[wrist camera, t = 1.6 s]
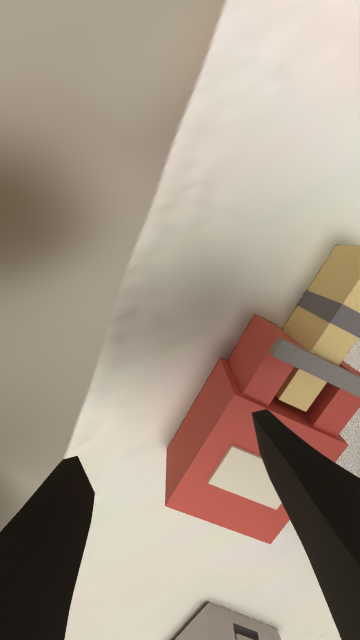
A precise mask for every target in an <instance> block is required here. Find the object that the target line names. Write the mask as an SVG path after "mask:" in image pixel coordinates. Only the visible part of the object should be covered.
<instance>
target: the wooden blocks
mask: <svg viewBox="0 0 360 640" xmlns="http://www.w3.org/2000/svg"><path fill="white" fill-rule="evenodd" d="M283 331H284V332H285V333H286V334H287V335H289V336H290V337H291V338H292V339H293V340H295V341H296V342H297V343H298V344H299V345H301V346H302V347H303V348H304V349H305V350H307V351H309V352H311V353H313V354H315V355H317V356H319V357H321V358H323V359H325V360H327V361H329V362H331V363H333V364H335V365H338V366H339V365H340V363H341V362H342V360H343V359H344V358H345V356H346V355H347V353H348V352H349V351H350V349H351V348H352V346H353V345H354V344H355V342H356V341H357V339H358V338H360V246H347V245H336V246H335V247H334V249H333V250H332V252H331V253H330V255H329V257H328V258H327V260H326V261H325V263H324V265H323V266H322V268H321V269H320V271H319V273H318V274H317V276H316V277H315V279H314V281H313V282H312V284H311V285H310V287H309V288H308V290H307V291H306V292H305V294H304V296H303V297H302V299H301V300H300V302H299V304H298V306H297V308H296V309H295V311H294V312H293V314H292V316H291V317H290V319H289V320H288V322H287V323H286V325H285V327H284V328H283ZM326 383H327V382H326V381H324V380H322V379H320V378H318V377H316V376H313V375H311V374H309V373H307V372H305V371H303V370H301V369H299V368H297V367H294V368H293V370H292V371H291V373H290V374H289V376H288V377H287V379H286V380H285V382H284V383H283V385H282V386H281V388H280V389H279V391H278V392H277V394H276V396H277V398H278V399H279V400H281V401H283V402H285V403H287V404H290V405H292V406H294V407H296V408H299V409H301V410H303V411H305V412H306V411H307V410H308V408H309V407H310V405H311V404H312V403H313V401H314V400H315V398H316V397H317V396H318V394H319V393H320V391H321V390H322V389H323V387H324V386H325V384H326Z"/></svg>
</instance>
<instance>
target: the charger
mask: <svg viewBox="0 0 360 640" xmlns="http://www.w3.org/2000/svg"><path fill="white" fill-rule="evenodd" d="M175 640H281V638H280V635H279V633H278V632H277V630H276V629H275V628H274V627H272V626H269V625H267V624H264V623H262V622H259V621H257V620H254V619H252V618H249V617H246V616H244V615H241V614H239V613H236V612H234V611H231V610H229V609H226V608H224V607H221V606H218V605H216V604H213V603H211V602H210V603H208V604H207V605H206V606H205V607H204V608H203V609H202V610H201V611H200V612H199V613H198V615H197V616H196V617H195V618H194V619H193V620H192V621H191V622H190V623H189V624H188V625H187V627H186V628H185V629H184V630H183V631H182V632H181V633H180V634H179V635H178V636H177V637H176V639H175Z"/></svg>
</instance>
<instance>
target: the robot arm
mask: <svg viewBox="0 0 360 640" xmlns="http://www.w3.org/2000/svg"><path fill="white" fill-rule="evenodd" d="M252 418H253V422H254V427H255V432H256V437H257V442H258V447H259V452H260V455H261V458H262V460H263V463H264V466H265V468H266V471H267V473H268V476H269V478H270V480H271V482H272V485H273V487H274V489H275V491H276V493H277V495H278V497H279V499H280V501H281V502H282V504H283V506H284V508H285V510H286V512H287V514H288V516H289V518H290V520H291V522H292V524H293V526H294V528H295V530H296V532H297V534H298V536H299V538H300V540H301V542H302V545H303V547H304V549H305V551H306V553H307V555H308V558H309V560H310V563H311V565H312V568H313V570H314V572H315V575H316V577H317V580H318V582H319V585H320V587H321V589H322V592H323V594H324V597H325V599H326V602H327V604H328V607H329V609H330V612H331V614H332V617H333V619H334V622H335V624H336V627H337V629H338V632H339V634H340V637H341V639H342V640H360V478H359V477H357V476H355V475H354V474H352V473H350V472H349V471H347V470H345V469H344V468H342V467H341V466H339V465H338V464H336V463H335V462H333V461H332V460H330V459H329V458H327V457H326V456H324V455H323V454H322V453H320V452H319V451H317V450H316V449H315V448H313V447H312V446H311V445H309V444H308V443H307V442H305V441H304V440H303V439H302V438H300V437H299V436H298V435H296V434H295V433H294V432H293V431H292V430H290V429H289V428H288V427H287V426H286V425H285V424H283V423H282V422H281V421H280V420H279V419H278V418H277V417H276V416H275V415H274V414H272V413H271V412H270V411H269V410H268V409H264V410H260V411H256V412H252ZM94 496H95V492H94V490H93V488H92V486H91V484H90V482H89V480H88V477H87V475H86V473H85V471H84V469H83V467H82V464H81V462H80V460H79V458H78V456H75V457H71V458H67V459H63V460H62V461H61V462H60V463H59V464H58V466H57V467H56V468H55V469H54V470H53V471H52V473H51V474H50V475H49V476H48V477H47V479H46V480H45V481H44V482H43V483H42V485H41V486H40V487H39V488H38V489H37V491H36V492H35V493H34V494H33V495H32V496H31V498H30V499H29V500H28V501H27V502H26V504H25V505H24V506H23V507H22V508H21V509H20V511H19V512H18V513H17V514H16V515H15V516H14V517H13V518H12V520H11V521H10V522H9V523H8V524H7V525H6V526H5V527H4V528H3V530H2V531H1V532H0V640H64V638H65V632H66V626H67V621H68V615H69V609H70V605H71V600H72V596H73V592H74V588H75V584H76V580H77V576H78V572H79V568H80V564H81V560H82V556H83V552H84V548H85V545H86V540H87V536H88V532H89V528H90V524H91V519H92V512H93V504H94Z"/></svg>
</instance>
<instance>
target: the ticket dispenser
mask: <svg viewBox="0 0 360 640" xmlns="http://www.w3.org/2000/svg"><path fill="white" fill-rule="evenodd" d="M294 367H297V368H299V369H301V370H303V371H305V372H307V373H309V374H311V375H313V376H316V377H318V378H320V379H322V380H324V381H326V382H327V383H326V384H325V386H324V387H323V389H322V390H321V391H320V393H319V394H318V396H317V397H316V398H315V400H314V401H313V403H312V404H311V405H310V407H309V408H308V410H307V411H306V412H305V411H303V410H301V409H299V408H296V407H294V406H292V405H290V404H287V403H285V402H283V401H281V400H279V399H278V398H277V396H276V394H277V392H278V391H279V389H280V388H281V386H282V385H283V383H284V382H285V380H286V379H287V377H288V376H289V374H290V373H291V371H292V370H293V368H294ZM359 407H360V373H359V372H358V371H357V370H355V369H354V368H352V367H351V366H350V365H348V364H347V363H345V362H344V361H343V360H342V362H341V363H340V365H339V366H338V365H335V364H333V363H331V362H329V361H327V360H325V359H323V358H321V357H319V356H317V355H315V354H313V353H311V352H309V351H307V350H305V349H304V348H303V347H302V346H301V345H299V344H298V343H297V342H296V341H295V340H293V339H292V338H291V337H290V336H289V335H287V334H286V333H285V332H284V331H283V330H281V329H280V328H279V327H278V326H277V325H275V324H273V323H271V322H269V321H267V320H265V319H263V318H261V317H259V316H257V315H254V317H253V318H252V320H251V322H250V323H249V325H248V327H247V329H246V330H245V332H244V334H243V335H242V337H241V339H240V340H239V342H238V344H237V345H236V347H235V349H234V351H233V352H232V354H231V356H230V357H229V359H228V361H225V360H223V359H221V358H220V359H219V361H218V362H217V364H216V366H215V368H214V369H213V371H212V373H211V374H210V376H209V378H208V380H207V381H206V383H205V385H204V386H203V388H202V390H201V392H200V393H199V395H198V397H197V398H196V400H195V402H194V404H193V405H192V407H191V409H190V411H189V412H188V414H187V416H186V417H185V419H184V421H183V423H182V424H181V426H180V428H179V429H178V431H177V433H176V435H175V436H174V438H173V440H172V441H171V443H170V445H169V447H168V448H167V459H166V494H165V506H167V507H169V508H172V509H175V510H178V511H180V512H183V513H186V514H189V515H191V516H194V517H197V518H200V519H202V520H205V521H208V522H211V523H213V524H216V525H219V526H222V527H225V528H227V529H230V530H233V531H236V532H238V533H241V534H244V535H247V536H249V537H252V538H255V539H258V540H260V541H263V542H266V543H269V544H271V543H272V542H273V540H274V539H275V538H276V536H277V535H278V534H279V533H280V531H281V530H282V529H283V528H284V526H285V525H286V524H287V522H288V521H289V520H290V518H289V516H288V514H287V512H286V510H285V508H284V506H283V504H282V502H281V501H280V499H279V497H278V495H277V493H276V491H275V489H274V487H273V485H272V482H271V480H270V478H269V476H268V473H267V471H266V468H265V466H264V463H263V460H262V458H261V455H260V452H259V447H258V442H257V437H256V432H255V427H254V422H253V418H252V412H256V411H260V410H264V409H268V410H269V411H270V412H271V413H272V414H274V415H275V416H276V417H277V418H278V419H279V420H280V421H281V422H282V423H283V424H285V425H286V426H287V427H288V428H289V429H290V430H292V431H293V432H294V433H295V434H296V435H298V436H299V437H300V438H302V439H303V440H304V441H305V442H307V443H308V444H309V445H311V446H312V447H313V448H315V449H316V450H317V451H319V452H320V453H322V454H323V455H324V456H326V457H327V458H329V459H330V460H332V461H333V462H335V461H336V460H337V459H338V458H339V456H340V455H341V454H342V452H343V451H344V450H345V449H346V447H347V446H348V444H347V443H346V442H345V440H344V439H343V438H342V437H341V436H340V435H339V433H340V432H341V431H342V429H343V428H344V427H345V425H346V424H347V423H348V421H349V420H350V419H351V418H352V416H353V415H354V414H355V412H356V411H357V410H358V408H359Z"/></svg>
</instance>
